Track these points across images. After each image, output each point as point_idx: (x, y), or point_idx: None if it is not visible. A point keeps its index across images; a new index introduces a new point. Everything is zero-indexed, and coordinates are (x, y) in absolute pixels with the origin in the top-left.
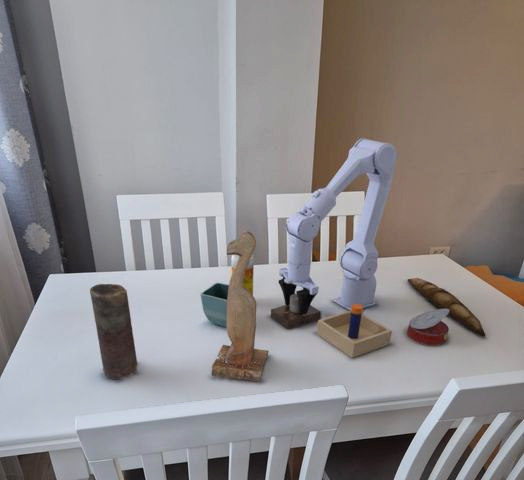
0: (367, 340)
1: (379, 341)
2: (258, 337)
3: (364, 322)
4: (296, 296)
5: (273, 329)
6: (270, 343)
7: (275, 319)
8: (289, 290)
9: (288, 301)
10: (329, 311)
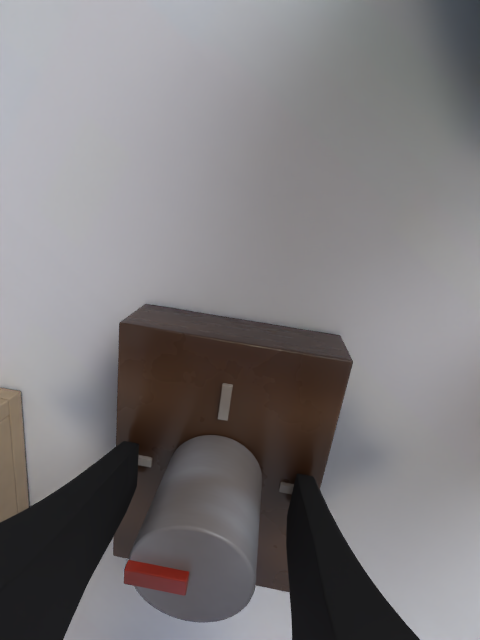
0: None
1: None
2: (167, 49)
3: None
4: (185, 575)
5: (197, 230)
6: (52, 69)
7: (282, 328)
8: (307, 620)
9: (296, 509)
10: None
